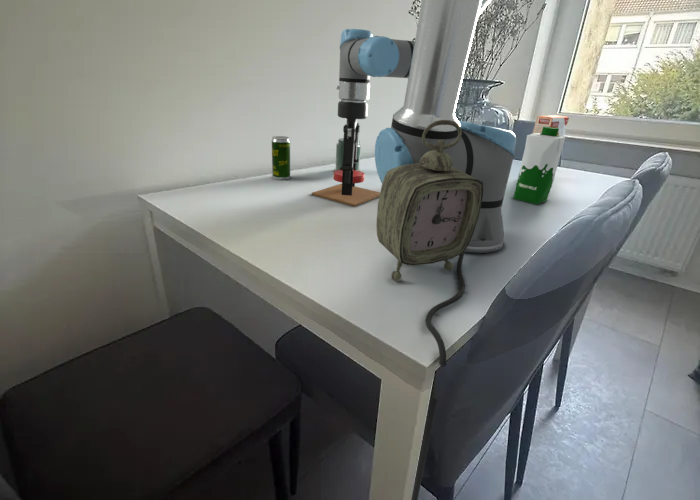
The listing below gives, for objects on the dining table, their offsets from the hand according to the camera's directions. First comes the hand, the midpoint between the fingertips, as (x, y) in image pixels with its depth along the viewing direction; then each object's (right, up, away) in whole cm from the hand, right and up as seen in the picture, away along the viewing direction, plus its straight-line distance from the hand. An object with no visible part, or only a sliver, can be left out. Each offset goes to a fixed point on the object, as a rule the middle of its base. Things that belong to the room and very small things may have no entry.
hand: (348, 190), depth 106 cm
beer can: (-21, +6, +13) cm, 25 cm away
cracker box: (+69, +10, +36) cm, 78 cm away
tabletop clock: (+11, -19, -38) cm, 44 cm away
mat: (0, -1, +1) cm, 1 cm away
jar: (-1, +10, +25) cm, 27 cm away
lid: (0, +4, -2) cm, 4 cm away
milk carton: (+53, -2, +7) cm, 53 cm away
